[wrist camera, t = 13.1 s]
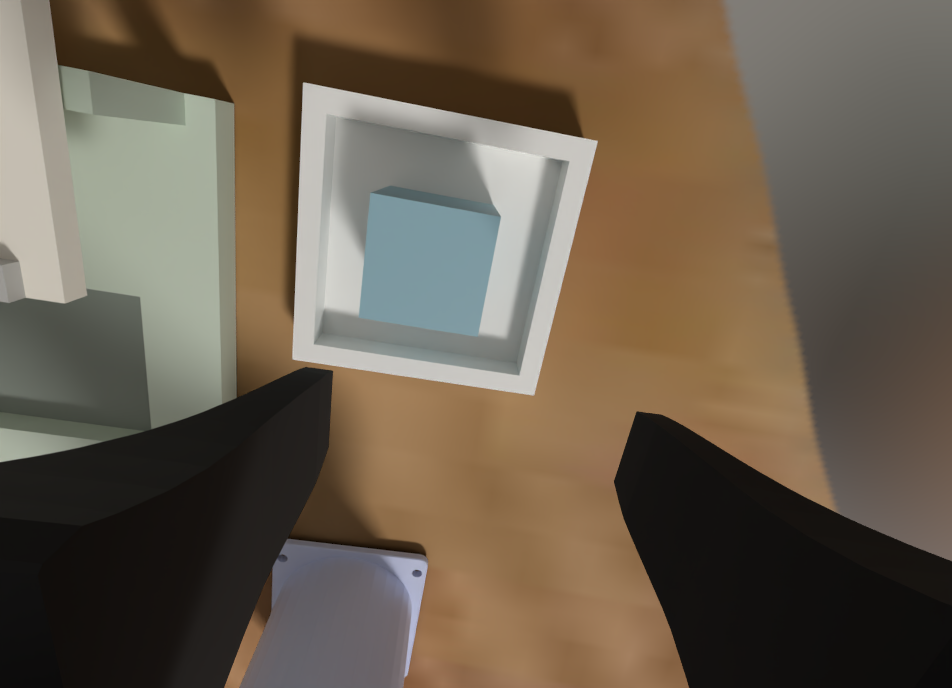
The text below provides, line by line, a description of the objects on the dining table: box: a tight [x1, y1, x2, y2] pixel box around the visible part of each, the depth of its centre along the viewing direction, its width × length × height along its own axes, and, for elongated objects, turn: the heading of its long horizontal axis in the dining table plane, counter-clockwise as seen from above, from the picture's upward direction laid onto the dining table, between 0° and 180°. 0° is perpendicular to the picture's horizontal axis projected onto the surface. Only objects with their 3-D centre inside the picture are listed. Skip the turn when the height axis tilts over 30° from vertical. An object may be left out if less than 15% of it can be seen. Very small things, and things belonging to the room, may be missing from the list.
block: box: [359, 186, 501, 337], centre depth 17 cm, size 4×4×4 cm
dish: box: [292, 82, 598, 395], centre depth 18 cm, size 10×10×2 cm
